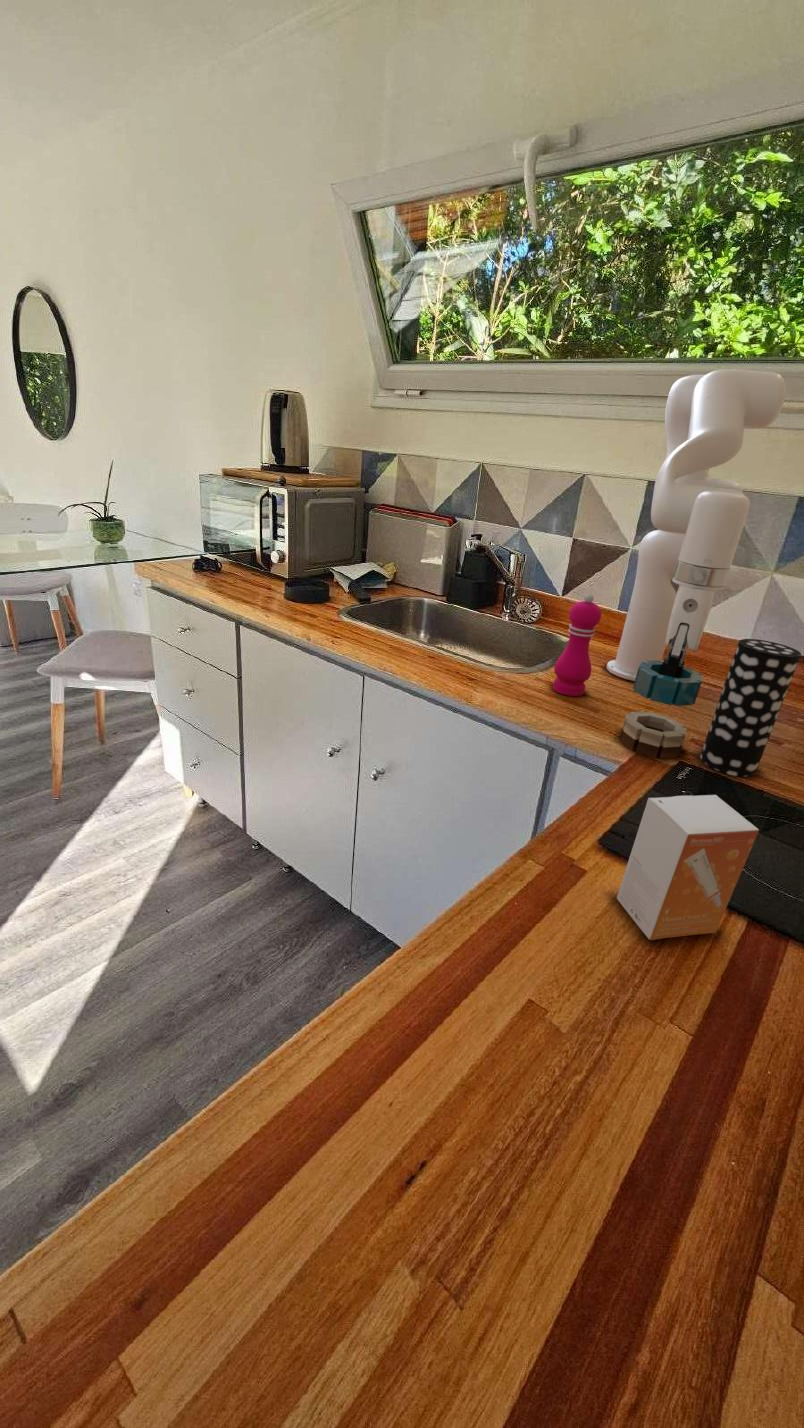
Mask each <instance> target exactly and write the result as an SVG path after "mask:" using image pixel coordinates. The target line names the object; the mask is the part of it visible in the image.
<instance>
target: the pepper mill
mask: <svg viewBox="0 0 804 1428" xmlns="http://www.w3.org/2000/svg"><path fill="white" fill-rule="evenodd" d="M594 599H595V596H594V595H593V594H592V593H586V594H585V595H584V597H583V600H582V601H578V602H576V603H574V604H573V605H572V606H571V607H570V610H569V611H568V612H569V613H568V619H569V621H570V622H571V623H570V624H569V625H568V629H567V632H568V633H569V638H568V642H567V645H566V647H565V649H563V652H561V654H560V655H559V657H558V659H557V660H556V662H555V664H554V668H553V671H554V674H555V676H556V678H555V679H554V680H553V684H552V689H553V690H554V692H556V693H558V694H561V695H563V696H568V697H580V696H583V695H584V693H585V689H586V684H585V682H587V681H588V680H589V679H590V678H591V675H592V663H591V659H590V652H589V648H590V643H591V639H592V637H594V636H595V631H596V628H595V627H597V625H598V624H600V622H601V619H602V610H601V608H600V607H599V605H598V604H596V603H595V602H594Z"/></svg>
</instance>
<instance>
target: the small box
mask: <svg viewBox="0 0 804 1428" xmlns="http://www.w3.org/2000/svg"><path fill="white" fill-rule="evenodd" d="M759 831H760V829H759V828H758V827H757V826H755V825H754V824H753V823H752V822H750V821H749V820H748V819H746V818H745V817H744V816H743V815H741V814H740V813H739V812H738V811H737V810H735V809H734V808H733V807H732V806H730V805H729V804H728V803H727V802H726V801H724V800H723V799H721V797H719V796H718V795H717V794H705V795H704V794H703V795H701V794H700V795H675V796H663V797H662V796H661V797H648V798H647V801H646V803H645V808H644V811H643V814H642V817H641V820H640V823H639V826H638V829H637V832H636V836H635V839H634V841H633V845H632V848H631V852H630V855H629V858H628V860H627V861H628V862H627V864H626V867H625V871H624V874H623V876H622V880H621V883H620V886H619V889H618V892H617V895H616V900H617V901H618V902H619V903H620V905H621V906H622V907H623V909H624V910H625V911H626V913H627V914H628V916H629V917H630V918H631V919H632V920H633V921H634V923H635V924H636V925H637V927H638V928H639V930H641V932H642V933H643V934H644V935H645V936H646V938H647V939H648V940H649V941H656V940H661V939H668V938H669V939H670V938H679V937H685V936H697V935H706V934H716V932H717V931H718V928H719V926H720V923H721V921H722V919H723V917H724V914H725V911H726V909H727V907H728V904H729V903H730V900H731V898H732V895H733V893H734V890H735V888H736V886H737V883H738V881H739V878H740V877H741V874H742V872H743V869H744V867H745V865H746V862H747V859H748V858H749V855H750V852H751V851H752V848H753V845H754V843H755V841H756V839H757V836H758V834H759Z"/></svg>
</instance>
